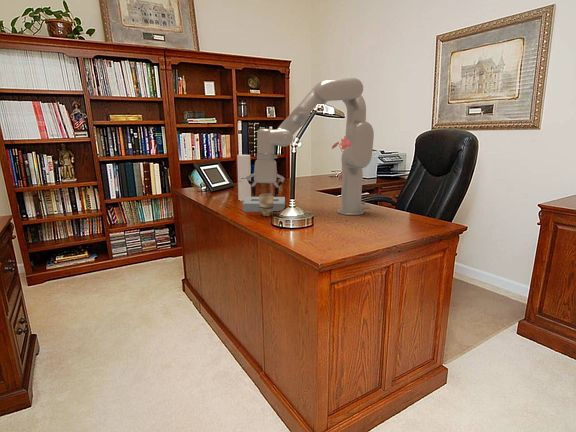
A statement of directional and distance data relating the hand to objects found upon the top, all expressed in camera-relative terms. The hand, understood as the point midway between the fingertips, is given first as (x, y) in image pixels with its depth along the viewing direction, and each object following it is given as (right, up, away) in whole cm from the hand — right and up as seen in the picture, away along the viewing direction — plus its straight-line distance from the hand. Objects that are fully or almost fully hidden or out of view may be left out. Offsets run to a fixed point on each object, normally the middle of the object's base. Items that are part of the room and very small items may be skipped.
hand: (265, 195), depth 159 cm
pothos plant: (+57, +19, +120) cm, 134 cm away
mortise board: (-1, -5, +19) cm, 20 cm away
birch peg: (0, -9, +2) cm, 10 cm away
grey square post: (-14, 0, +39) cm, 42 cm away
